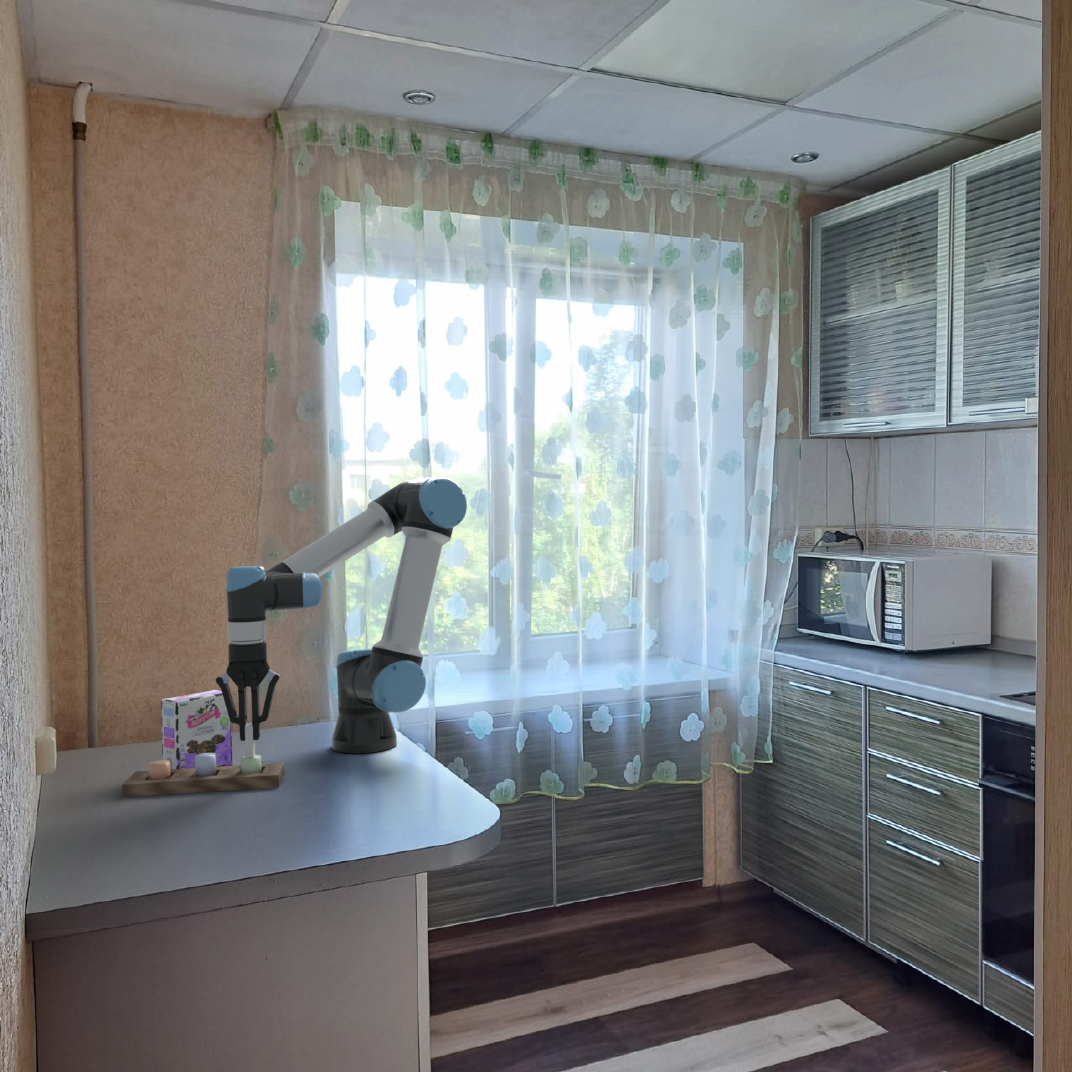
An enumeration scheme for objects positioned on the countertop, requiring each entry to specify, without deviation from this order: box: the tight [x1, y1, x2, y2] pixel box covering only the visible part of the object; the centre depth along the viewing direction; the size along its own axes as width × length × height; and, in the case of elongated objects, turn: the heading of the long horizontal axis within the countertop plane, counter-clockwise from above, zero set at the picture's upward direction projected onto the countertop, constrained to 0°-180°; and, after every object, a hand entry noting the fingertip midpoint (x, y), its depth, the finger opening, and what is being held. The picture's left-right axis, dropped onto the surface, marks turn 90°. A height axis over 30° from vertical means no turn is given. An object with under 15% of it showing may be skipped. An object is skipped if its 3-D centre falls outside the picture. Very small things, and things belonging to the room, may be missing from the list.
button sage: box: [240, 754, 262, 774], centre depth 200 cm, size 4×4×4 cm
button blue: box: [195, 753, 216, 777], centre depth 199 cm, size 4×4×4 cm
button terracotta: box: [148, 759, 171, 780], centre depth 198 cm, size 4×4×4 cm
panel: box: [121, 762, 286, 798], centre depth 199 cm, size 30×10×2 cm, turn 98°
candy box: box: [160, 689, 233, 769], centre depth 212 cm, size 14×6×16 cm, turn 143°
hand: (250, 755), depth 200 cm, fingers closed
